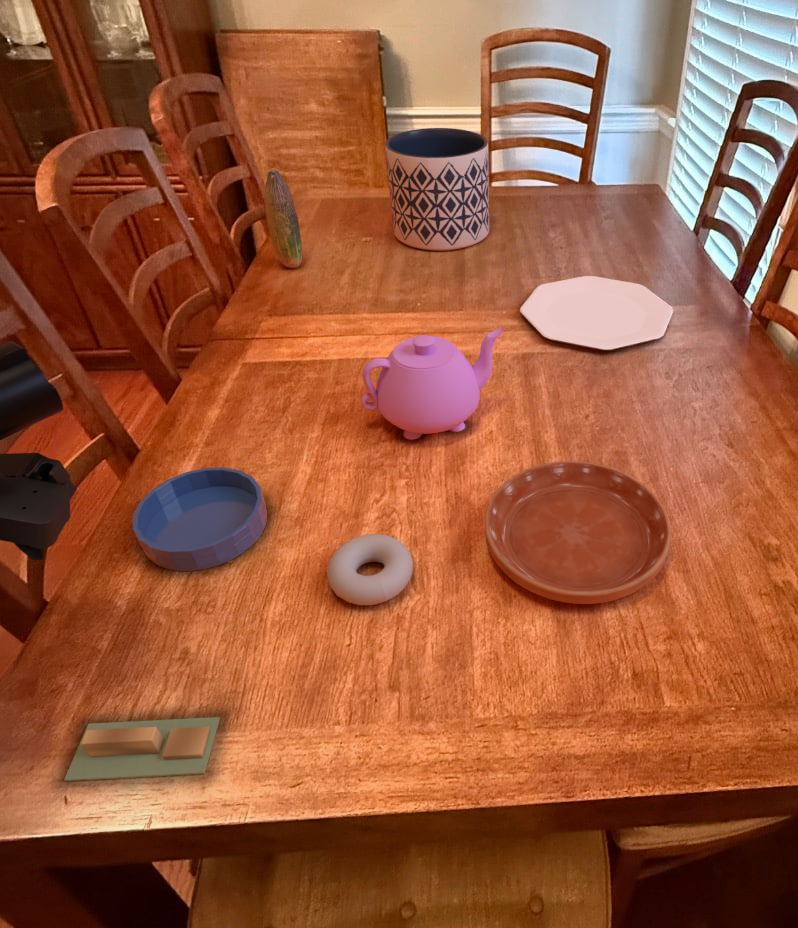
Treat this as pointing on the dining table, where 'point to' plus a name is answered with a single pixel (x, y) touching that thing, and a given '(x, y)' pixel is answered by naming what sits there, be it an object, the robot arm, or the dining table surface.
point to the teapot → (428, 384)
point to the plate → (597, 313)
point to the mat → (141, 763)
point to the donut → (376, 585)
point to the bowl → (200, 518)
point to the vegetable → (282, 220)
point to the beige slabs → (147, 742)
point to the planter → (439, 187)
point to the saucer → (577, 532)
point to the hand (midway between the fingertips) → (16, 595)
